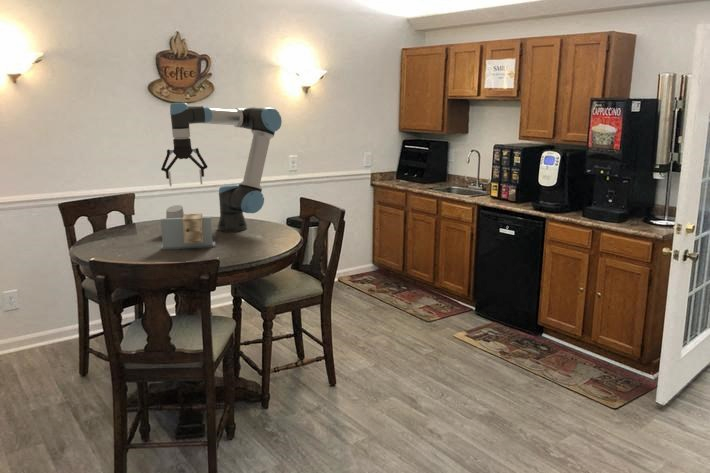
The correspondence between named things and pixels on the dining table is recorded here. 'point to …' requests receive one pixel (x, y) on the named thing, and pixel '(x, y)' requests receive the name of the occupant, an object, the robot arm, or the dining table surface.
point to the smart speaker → (175, 212)
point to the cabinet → (192, 228)
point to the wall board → (175, 234)
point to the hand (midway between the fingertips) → (186, 184)
